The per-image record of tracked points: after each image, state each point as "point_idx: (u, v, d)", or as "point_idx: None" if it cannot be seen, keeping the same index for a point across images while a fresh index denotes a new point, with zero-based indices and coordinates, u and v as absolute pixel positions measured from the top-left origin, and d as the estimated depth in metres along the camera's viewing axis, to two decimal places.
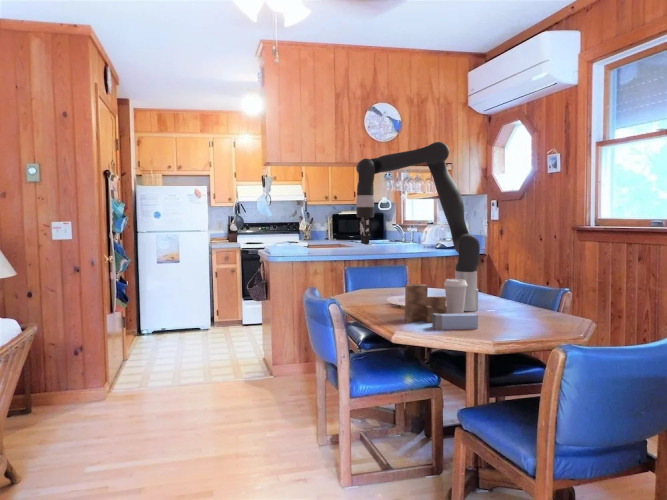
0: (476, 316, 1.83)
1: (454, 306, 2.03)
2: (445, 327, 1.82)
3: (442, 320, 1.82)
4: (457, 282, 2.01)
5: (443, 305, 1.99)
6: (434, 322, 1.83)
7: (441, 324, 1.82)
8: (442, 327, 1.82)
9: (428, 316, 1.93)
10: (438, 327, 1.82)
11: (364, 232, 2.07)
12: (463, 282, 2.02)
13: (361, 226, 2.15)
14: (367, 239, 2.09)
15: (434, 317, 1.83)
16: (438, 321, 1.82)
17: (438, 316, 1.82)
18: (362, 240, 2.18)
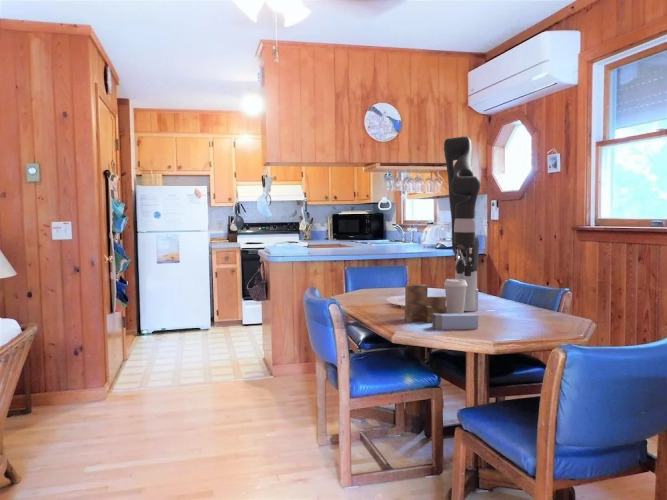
0: (476, 316, 1.83)
1: (454, 306, 2.03)
2: (445, 327, 1.82)
3: (442, 320, 1.82)
4: (457, 282, 2.01)
5: (443, 305, 1.99)
6: (434, 322, 1.83)
7: (441, 324, 1.82)
8: (442, 327, 1.82)
9: (428, 316, 1.93)
10: (438, 327, 1.82)
11: (466, 262, 1.77)
12: (463, 282, 2.02)
13: (458, 254, 1.85)
14: (469, 270, 1.78)
15: (434, 317, 1.83)
16: (438, 321, 1.82)
17: (438, 316, 1.82)
18: (458, 270, 1.87)
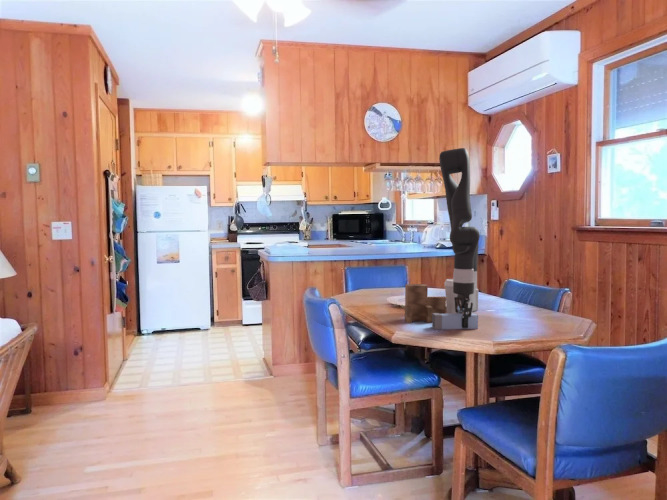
0: (476, 316, 1.83)
1: (454, 306, 2.03)
2: (445, 327, 1.82)
3: (442, 320, 1.82)
4: None
5: (443, 305, 1.99)
6: (434, 322, 1.83)
7: (441, 324, 1.82)
8: (442, 327, 1.82)
9: (428, 316, 1.93)
10: (438, 327, 1.82)
11: (464, 315, 1.80)
12: None
13: (458, 303, 1.85)
14: (466, 322, 1.81)
15: (434, 317, 1.83)
16: (438, 321, 1.82)
17: (438, 316, 1.82)
18: None
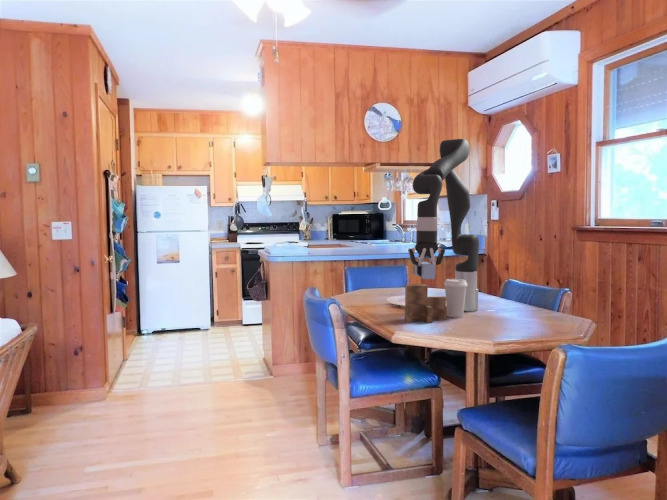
0: (423, 266, 1.79)
1: (454, 306, 2.03)
2: (415, 273, 1.91)
3: (414, 266, 1.92)
4: (457, 282, 2.01)
5: (443, 305, 1.99)
6: None
7: (414, 269, 1.92)
8: (414, 272, 1.92)
9: (428, 316, 1.93)
10: (414, 272, 1.93)
11: None
12: (463, 282, 2.02)
13: None
14: (417, 270, 1.83)
15: None
16: (413, 266, 1.93)
17: None
18: None
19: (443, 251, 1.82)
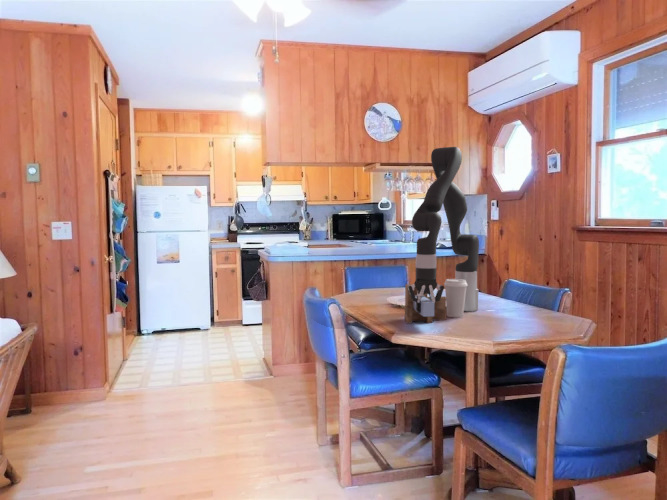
0: (423, 303, 1.80)
1: (454, 306, 2.03)
2: (415, 308, 1.92)
3: None
4: (457, 282, 2.01)
5: (443, 305, 1.99)
6: None
7: (414, 304, 1.93)
8: (414, 307, 1.93)
9: (428, 316, 1.93)
10: (413, 306, 1.94)
11: (412, 298, 1.85)
12: (463, 282, 2.02)
13: None
14: (416, 306, 1.84)
15: None
16: (413, 301, 1.94)
17: None
18: None
19: (442, 288, 1.83)
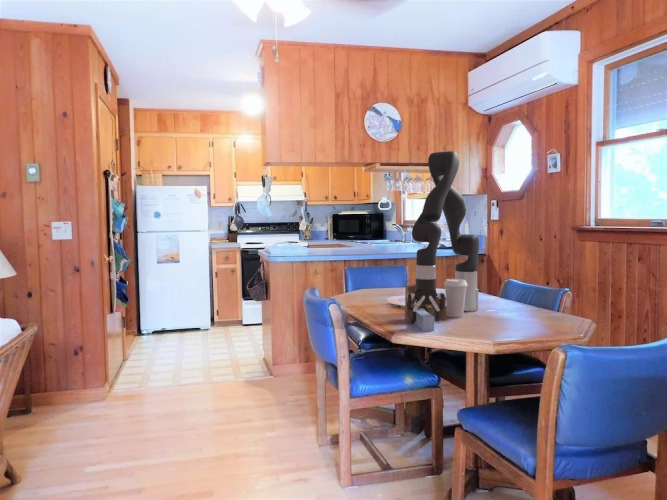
0: (423, 318, 1.80)
1: (454, 306, 2.03)
2: None
3: None
4: (457, 282, 2.01)
5: None
6: None
7: None
8: None
9: None
10: None
11: None
12: (463, 282, 2.02)
13: None
14: (412, 315, 1.84)
15: None
16: None
17: None
18: (434, 317, 1.86)
19: (443, 296, 1.83)
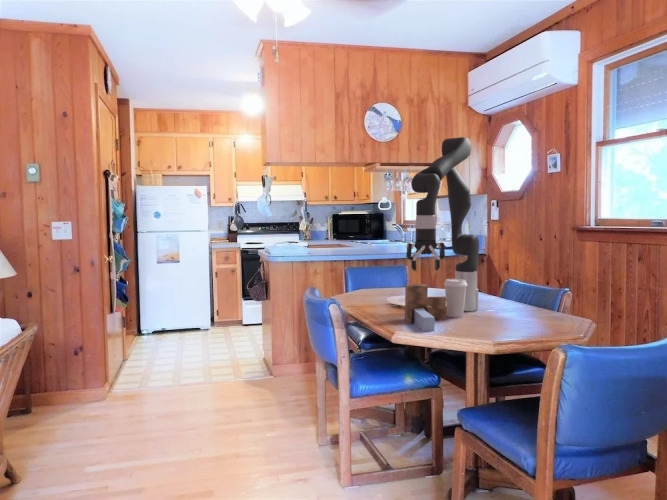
0: (423, 318, 1.80)
1: (454, 306, 2.03)
2: (415, 321, 1.92)
3: (414, 314, 1.93)
4: (457, 282, 2.01)
5: (443, 305, 1.99)
6: None
7: (414, 318, 1.93)
8: (414, 321, 1.93)
9: None
10: (413, 320, 1.94)
11: None
12: (463, 282, 2.02)
13: None
14: (411, 264, 1.88)
15: None
16: (413, 314, 1.94)
17: (413, 309, 1.94)
18: (435, 266, 1.89)
19: (443, 245, 1.87)
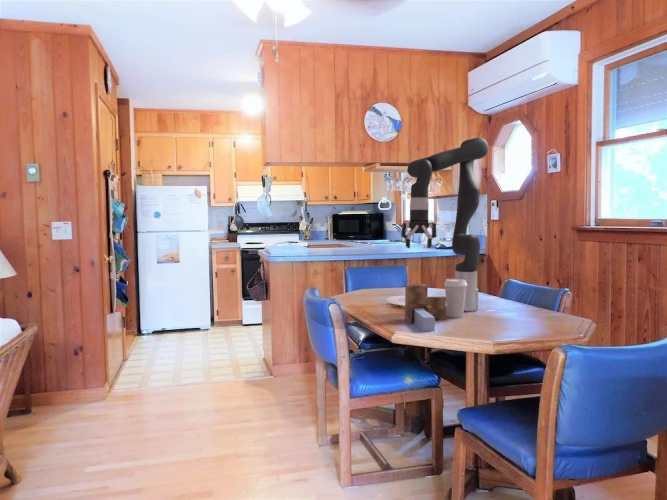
0: (423, 318, 1.80)
1: (454, 306, 2.03)
2: (415, 321, 1.92)
3: (414, 314, 1.93)
4: (457, 282, 2.01)
5: (443, 305, 1.99)
6: None
7: (414, 318, 1.93)
8: (414, 321, 1.93)
9: None
10: (413, 320, 1.94)
11: None
12: (463, 282, 2.02)
13: None
14: (406, 242, 2.05)
15: None
16: (413, 314, 1.94)
17: (413, 310, 1.94)
18: (427, 244, 2.07)
19: (434, 225, 2.05)
